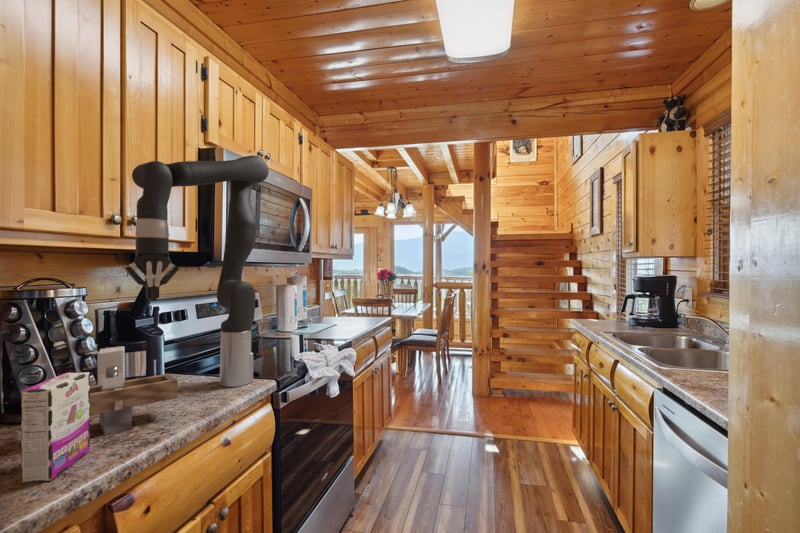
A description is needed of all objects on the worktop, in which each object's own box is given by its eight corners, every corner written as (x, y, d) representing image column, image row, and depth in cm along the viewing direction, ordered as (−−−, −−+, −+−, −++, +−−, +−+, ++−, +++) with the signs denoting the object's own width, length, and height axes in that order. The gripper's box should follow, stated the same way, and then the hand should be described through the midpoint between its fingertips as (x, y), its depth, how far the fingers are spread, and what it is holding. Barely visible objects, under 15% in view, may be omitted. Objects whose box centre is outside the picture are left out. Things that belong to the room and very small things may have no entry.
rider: (120, 392, 93) (121, 364, 93) (123, 397, 90) (124, 367, 90) (99, 396, 90) (100, 366, 90) (102, 400, 88) (102, 370, 88)
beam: (167, 408, 103) (168, 372, 103) (177, 418, 96) (177, 380, 96) (45, 434, 86) (46, 392, 86) (47, 448, 79) (48, 402, 79)
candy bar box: (62, 453, 78) (64, 372, 78) (90, 451, 78) (92, 371, 79) (17, 484, 67) (19, 389, 67) (50, 482, 67) (52, 388, 68)
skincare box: (124, 404, 105) (125, 350, 105) (95, 409, 101) (96, 352, 101) (125, 396, 112) (126, 344, 112) (99, 399, 108) (100, 347, 108)
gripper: (175, 238, 111) (175, 298, 112) (119, 236, 102) (119, 301, 102) (183, 237, 106) (183, 300, 106) (125, 234, 97) (126, 303, 97)
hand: (152, 300), depth 104 cm, fingers closed
